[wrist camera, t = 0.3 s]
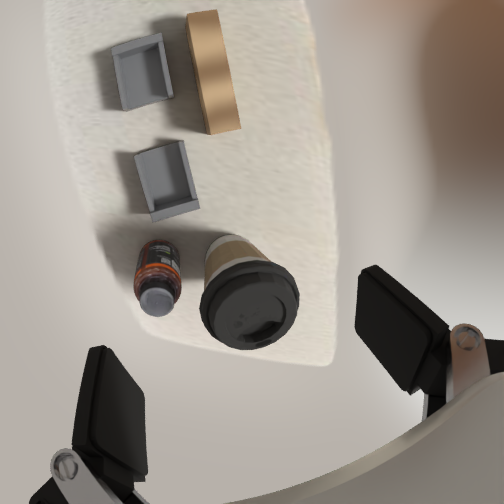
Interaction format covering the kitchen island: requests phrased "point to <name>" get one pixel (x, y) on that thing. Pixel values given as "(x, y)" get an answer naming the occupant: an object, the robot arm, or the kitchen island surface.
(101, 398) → the robot arm
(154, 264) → the supplement bottle
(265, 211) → the kitchen island surface
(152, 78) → the cap
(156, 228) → the kitchen island surface
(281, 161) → the kitchen island surface
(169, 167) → the cap
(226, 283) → the coffee cup
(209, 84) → the light wood rectangular block
